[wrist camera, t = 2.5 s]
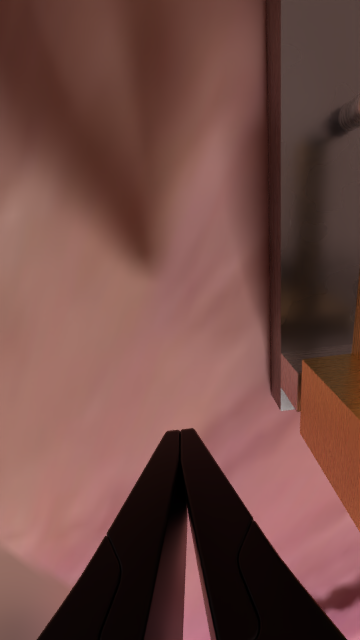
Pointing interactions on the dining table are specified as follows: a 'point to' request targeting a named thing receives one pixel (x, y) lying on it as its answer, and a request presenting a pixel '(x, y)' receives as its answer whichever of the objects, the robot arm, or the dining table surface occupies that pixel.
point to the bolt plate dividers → (311, 185)
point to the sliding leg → (336, 396)
